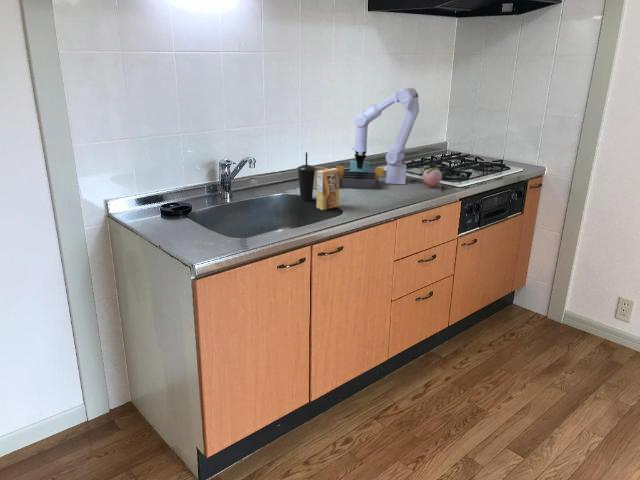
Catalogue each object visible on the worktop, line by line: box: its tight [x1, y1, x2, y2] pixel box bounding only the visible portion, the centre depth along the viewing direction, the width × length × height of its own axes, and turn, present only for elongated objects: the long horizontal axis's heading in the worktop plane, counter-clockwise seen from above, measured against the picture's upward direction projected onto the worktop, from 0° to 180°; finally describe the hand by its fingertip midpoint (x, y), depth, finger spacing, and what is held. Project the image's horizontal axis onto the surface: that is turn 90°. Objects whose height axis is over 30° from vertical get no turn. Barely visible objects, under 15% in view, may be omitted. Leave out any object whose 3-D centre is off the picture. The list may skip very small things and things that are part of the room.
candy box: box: [316, 167, 340, 211], centre depth 207 cm, size 9×4×15 cm, turn 129°
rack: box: [335, 165, 384, 191], centre depth 243 cm, size 22×15×8 cm
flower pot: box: [313, 166, 328, 190], centre depth 237 cm, size 9×9×9 cm
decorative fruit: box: [422, 166, 443, 188], centre depth 241 cm, size 9×8×10 cm
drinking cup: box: [296, 151, 316, 202], centre depth 216 cm, size 8×8×20 cm
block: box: [349, 160, 371, 172], centre depth 257 cm, size 10×2×8 cm, turn 84°
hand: (359, 167), depth 256 cm, fingers open, 7 cm apart
